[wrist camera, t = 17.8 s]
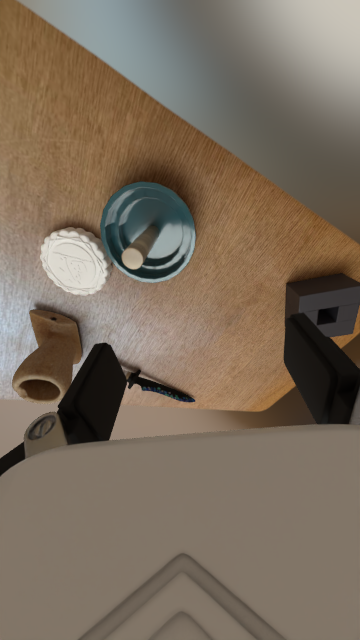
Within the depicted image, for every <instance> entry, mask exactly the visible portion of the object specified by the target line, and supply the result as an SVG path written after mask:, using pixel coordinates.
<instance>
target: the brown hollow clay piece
mask: <svg viewBox="0 0 360 640" xmlns="http://www.w3.org/2000/svg"><path fill="white" fill-rule="evenodd" d="M29 314H30V318H31V322H32V327H33V330H34V333H35V337H36V340H37V343H38V347H39V348H38V349H36V350H35V351H34V352H33V353H31V354H30V355H29V356H28V357H27V358H26V359H25V360H24V361H23V362H22V364H21V365H20V366H19V368H18V369H17V371H16V372H15V374H14V376H13V380H12V386H13V389H14V390H15V391H16V392H17V393H18V395H19V396H20V397H22V398H23V399H25V400H27V401H30V402H33V403H39V404H51V403H56V402H58V401H60V400H61V399H62V398H63V397H64V395H65V393H66V392H67V390H68V388H69V387H70V385H71V382H72V372H73V364H77V363H79V362H80V360H81V356H82V349H81V344H80V338H79V333H78V328H77V325H76V323H75V322H74V321H72V320H71V319H69V318H67V317H65V316H63V315H60V314H56V313H53V312H50V311H44V310H30V311H29Z"/></svg>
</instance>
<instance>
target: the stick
mask: <svg viewBox="0 0 360 640" xmlns="http://www.w3.org/2000/svg"><path fill="white" fill-rule="evenodd" d="M158 237H159V230H158V228H157V227H155V226H149V227H148V228H147V229H145V230H144V231H143V232H142V233H141V234H140V235H139V236H138V237H137V238H136V239H135V240H134V241H133V242H132V243H131V244H130V245H129V246H128V247H127V248H126V249H125V250H124V251H123V253H122V261H123V263H124V265H125V266H126V267H128V268H130V269H138V268H140V267H141V266H142V264H143V262H144V261H145V259H146V257H147V256H148V254H149V252H150V251H151V249H152V247H153V246H154V244H155V242H156V241H157V239H158Z"/></svg>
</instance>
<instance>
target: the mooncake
mask: <svg viewBox="0 0 360 640" xmlns="http://www.w3.org/2000/svg"><path fill="white" fill-rule="evenodd" d="M41 251H42V253H41V254H40V259H41V260H42V262H43V263H42V267H43V269H44V270H45V271H47V276H48V277H49V278H50V279H52V280H53V281H54V283H55V285H57V286H59V287H62V289H63V290H64V291H66V292H71V293H72V294H75V295H78V294H81V295H84V296H85V295H87V294H88V293H89V294H94V293H95V292H96V291H97V290H100V289H101V288H102V287H103V286H104V285H105V284H106V282H107V281H108V280H109V278H110V272H111V271H112V265H111V262H112V261H111V259H110V258H109V257H108V255H107V253H106V250H105V248H104V246H103V243H102V241H101V240H100V239H99V238H95V236H94V234H93V233H91V232H86V231H85V230H84V229H82V228H77V229H75V228H73V227H68V228H65V229H60V230H57V231H54V232H52V233H51V235H50V236H48V237H46V238H45V239H44V244H42V245H41Z"/></svg>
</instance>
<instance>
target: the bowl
mask: <svg viewBox="0 0 360 640" xmlns="http://www.w3.org/2000/svg"><path fill="white" fill-rule="evenodd" d="M149 226H155V227H157V228H158V230H159V237H158V239H157V241H156V242H155V244H154V246H153V247H152V249H151V251H150V252H149V254H148V256H147V257H146V259H145V261H144V262H143V264H142V266H141V267H140V268H138V269H130V268H128V267H126V266H125V265H124V263H123V261H122V253H123V251H124V250H125V249H126V248H127V247H128V246H129V245H130V244H131V243H132V242H133V241H134V240H135V239H136V238H137V237H138V236H139V235H140V234H141V233H142V232H143V231H144V230H145V229H147V228H148V227H149ZM100 229H101V239H102V243H103V245H104V248H105V250H106V253H107V255H108V257H109V258H110V259H111V261H112V262H113V263H114V265H115V266H116V267H117V268H118V269H119V270H120V271H122V272H123V273H124V274H126V275H127V276H128V277H131V278H133V279H136V280H138V281H141V282H149V283H157V282H161V281H166V280H169V279H171V278H172V277H174V276H176V275H178V274H179V273H180V272H181V271H182V270H183V269H184V268H185V266H186V265H187V264H188V263H189V261H190V258H191V256H192V254H193V252H194V248H195V240H196V232H195V226H194V221H193V216H192V213H191V211H190V209H189V207H188V205H187V203H186V202H185V200H184V199H183V198H182V197H181V196H180V195H179V194H178V193H177V192H176V191H174V190H173V189H171V188H169V187H167V186H165V185H163V184H159V183H152V182H142V181H141V182H136V183H133V184H129V185H126V186H124V187H122V188H121V189H120V190H119V191H117V192H116V193H115V194H113V195H112V196H111V198H110V199H109V201H108V203H107V204H106V206H105V208H104V210H103V214H102V219H101V224H100Z"/></svg>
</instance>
